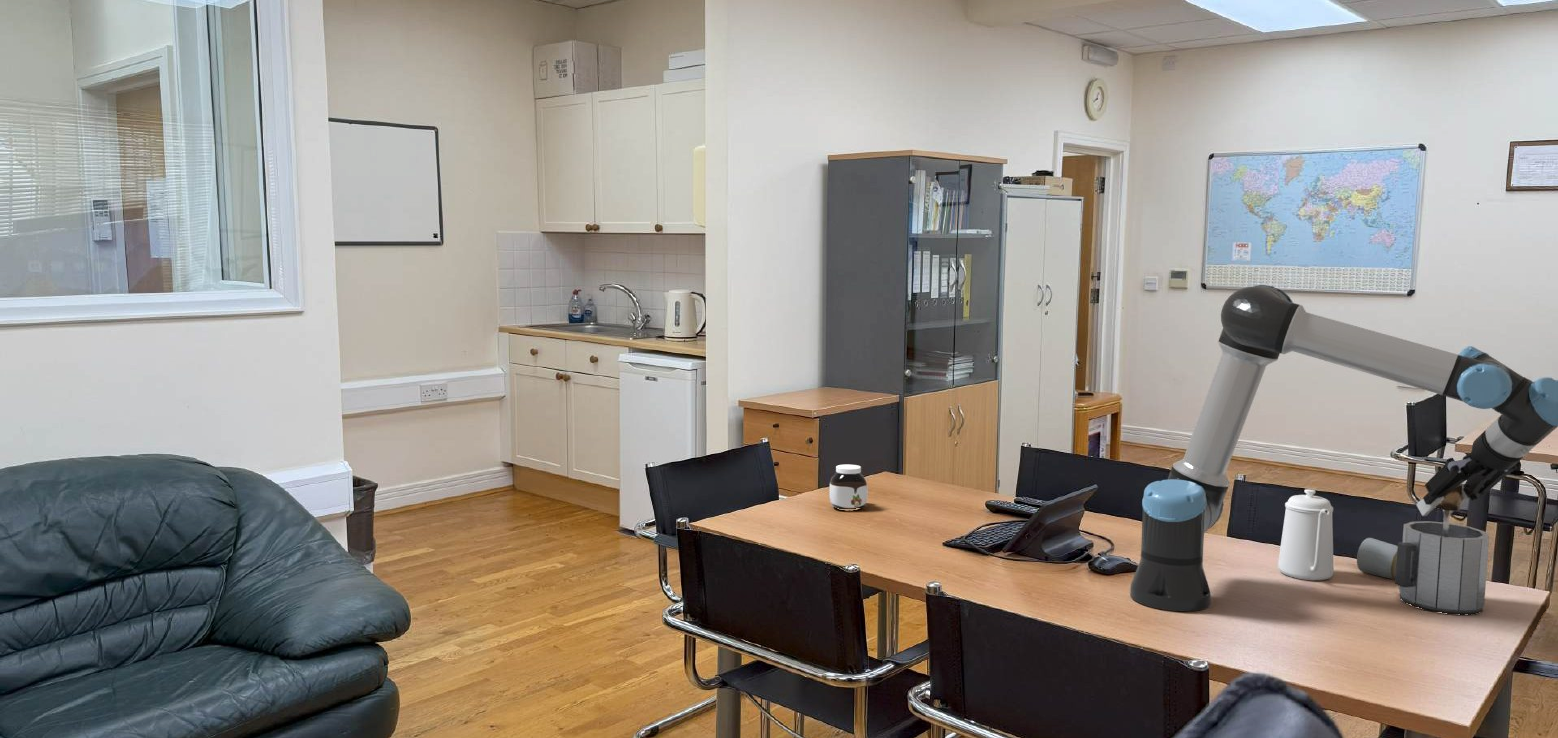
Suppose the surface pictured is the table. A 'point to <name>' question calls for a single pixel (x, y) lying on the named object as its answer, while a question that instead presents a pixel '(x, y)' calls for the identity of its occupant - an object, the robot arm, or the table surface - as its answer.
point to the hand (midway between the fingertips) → (1432, 509)
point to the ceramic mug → (1377, 558)
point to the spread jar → (848, 487)
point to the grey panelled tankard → (1442, 567)
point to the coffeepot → (1307, 538)
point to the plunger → (1450, 506)
